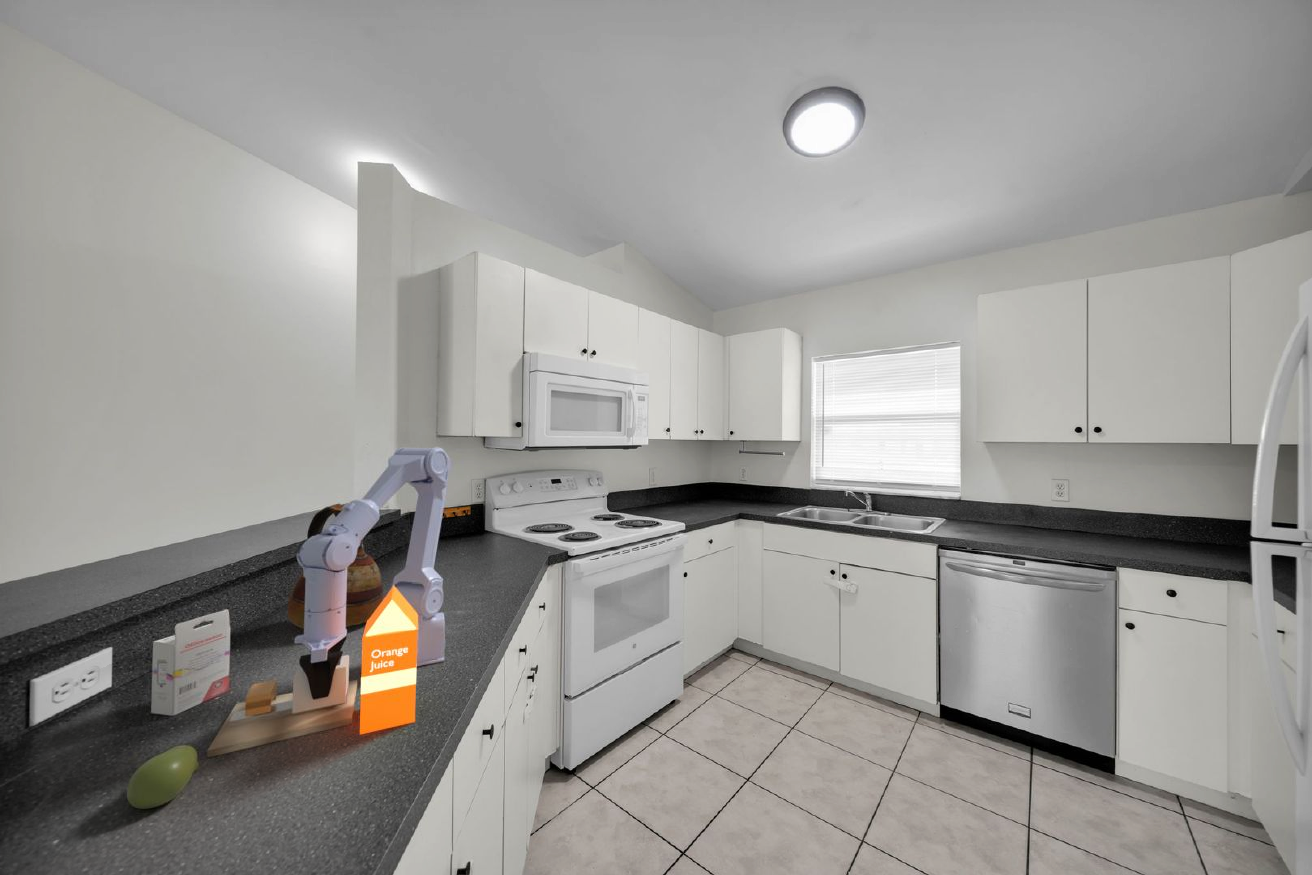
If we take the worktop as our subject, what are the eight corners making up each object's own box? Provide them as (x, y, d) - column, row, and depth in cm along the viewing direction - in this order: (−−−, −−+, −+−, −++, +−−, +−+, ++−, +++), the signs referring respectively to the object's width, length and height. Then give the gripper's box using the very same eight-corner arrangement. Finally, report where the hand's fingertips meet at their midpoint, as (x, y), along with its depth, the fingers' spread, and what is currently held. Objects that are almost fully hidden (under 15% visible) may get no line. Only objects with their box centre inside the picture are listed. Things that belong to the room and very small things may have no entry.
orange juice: (358, 735, 71) (362, 602, 72) (364, 706, 79) (367, 587, 80) (416, 721, 75) (419, 595, 75) (416, 696, 82) (418, 581, 83)
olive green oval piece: (119, 773, 54) (155, 742, 63) (113, 825, 53) (150, 786, 62) (185, 757, 57) (210, 730, 65) (181, 806, 56) (207, 772, 64)
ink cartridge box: (207, 688, 85) (211, 606, 85) (229, 691, 84) (233, 608, 84) (148, 713, 76) (152, 622, 77) (171, 717, 75) (175, 624, 76)
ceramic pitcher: (350, 640, 107) (354, 508, 108) (263, 639, 107) (268, 508, 108) (398, 611, 126) (401, 500, 128) (325, 610, 127) (328, 499, 128)
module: (348, 688, 82) (349, 651, 82) (345, 702, 77) (346, 663, 77) (298, 698, 78) (299, 659, 79) (292, 713, 74) (293, 672, 74)
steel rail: (348, 694, 81) (348, 688, 81) (347, 702, 78) (347, 696, 78) (234, 718, 73) (234, 711, 73) (228, 728, 71) (229, 721, 71)
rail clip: (276, 698, 77) (277, 679, 77) (270, 711, 73) (270, 692, 73) (252, 703, 75) (253, 684, 75) (245, 716, 71) (245, 696, 71)
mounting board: (357, 685, 86) (357, 680, 86) (351, 723, 74) (351, 717, 74) (236, 709, 78) (236, 703, 78) (207, 757, 66) (207, 750, 66)
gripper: (303, 598, 83) (300, 676, 82) (287, 624, 70) (284, 717, 70) (350, 592, 86) (348, 667, 86) (343, 617, 74) (341, 704, 73)
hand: (323, 689), depth 78 cm, fingers closed on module, 5 cm apart
